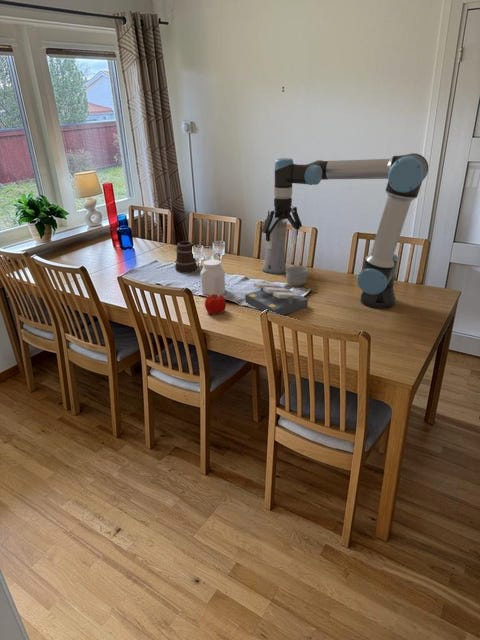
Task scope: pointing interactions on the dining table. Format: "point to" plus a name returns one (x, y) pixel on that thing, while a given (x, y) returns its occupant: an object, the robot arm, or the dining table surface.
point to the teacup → (296, 275)
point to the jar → (212, 278)
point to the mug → (185, 257)
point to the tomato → (215, 304)
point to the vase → (276, 250)
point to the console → (275, 302)
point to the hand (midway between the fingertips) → (281, 245)
